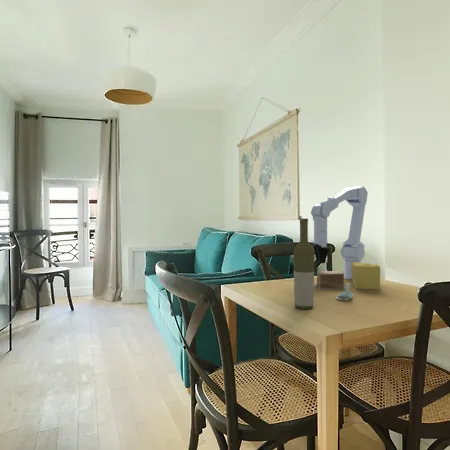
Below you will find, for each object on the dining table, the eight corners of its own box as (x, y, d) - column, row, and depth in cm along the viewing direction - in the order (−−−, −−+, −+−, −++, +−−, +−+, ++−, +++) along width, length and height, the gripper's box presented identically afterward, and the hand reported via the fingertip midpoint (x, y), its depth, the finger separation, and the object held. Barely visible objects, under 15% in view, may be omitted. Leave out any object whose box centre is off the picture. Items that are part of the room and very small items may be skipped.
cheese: (376, 285, 151) (376, 262, 151) (381, 290, 141) (381, 266, 141) (351, 284, 154) (351, 262, 154) (353, 289, 144) (354, 265, 143)
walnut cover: (316, 284, 152) (316, 271, 151) (340, 284, 151) (340, 271, 151) (319, 287, 146) (319, 273, 145) (344, 287, 145) (344, 273, 145)
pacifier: (334, 301, 127) (351, 302, 124) (333, 283, 126) (350, 284, 124) (337, 296, 133) (353, 297, 130) (336, 280, 133) (353, 281, 130)
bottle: (297, 303, 122) (297, 218, 121) (317, 306, 118) (317, 218, 117) (290, 308, 116) (290, 218, 115) (311, 311, 112) (311, 218, 111)
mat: (314, 284, 153) (314, 284, 153) (344, 285, 152) (344, 284, 152) (318, 289, 144) (318, 288, 144) (350, 289, 143) (350, 288, 143)
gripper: (308, 230, 162) (308, 259, 163) (314, 232, 148) (314, 264, 148) (324, 230, 162) (324, 259, 162) (331, 232, 147) (331, 264, 148)
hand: (320, 261), depth 155 cm, fingers open, 7 cm apart
